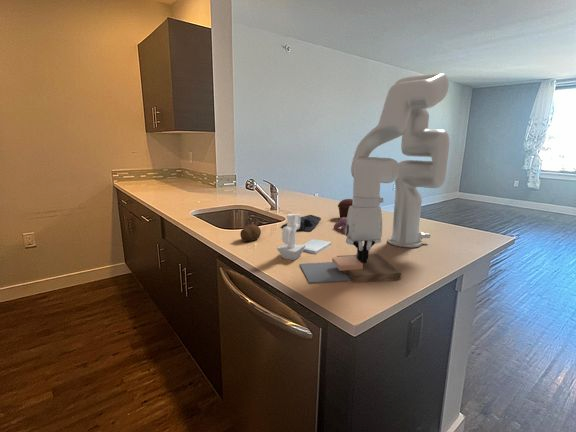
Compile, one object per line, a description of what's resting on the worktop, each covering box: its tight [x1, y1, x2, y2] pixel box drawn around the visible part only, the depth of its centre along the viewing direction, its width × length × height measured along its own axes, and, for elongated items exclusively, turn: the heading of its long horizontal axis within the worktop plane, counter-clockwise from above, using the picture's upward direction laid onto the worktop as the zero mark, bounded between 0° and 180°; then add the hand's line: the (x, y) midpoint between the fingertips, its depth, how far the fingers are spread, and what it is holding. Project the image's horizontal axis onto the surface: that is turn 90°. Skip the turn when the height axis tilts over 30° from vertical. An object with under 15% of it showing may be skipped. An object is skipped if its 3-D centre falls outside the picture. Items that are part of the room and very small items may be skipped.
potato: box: [240, 224, 262, 242], centre depth 128 cm, size 7×10×6 cm
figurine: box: [276, 213, 305, 261], centre depth 108 cm, size 7×9×15 cm
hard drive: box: [301, 238, 332, 255], centre depth 120 cm, size 2×8×12 cm
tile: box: [331, 256, 363, 271], centre depth 96 cm, size 7×7×2 cm
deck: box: [336, 253, 402, 283], centre depth 98 cm, size 14×16×2 cm
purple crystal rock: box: [333, 217, 347, 234], centre depth 142 cm, size 10×5×7 cm, turn 22°
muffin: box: [337, 198, 353, 220], centre depth 163 cm, size 12×11×10 cm
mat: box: [299, 261, 352, 284], centre depth 96 cm, size 12×14×1 cm
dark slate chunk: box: [280, 214, 322, 233], centre depth 151 cm, size 15×22×5 cm
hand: (362, 261), depth 97 cm, fingers closed
